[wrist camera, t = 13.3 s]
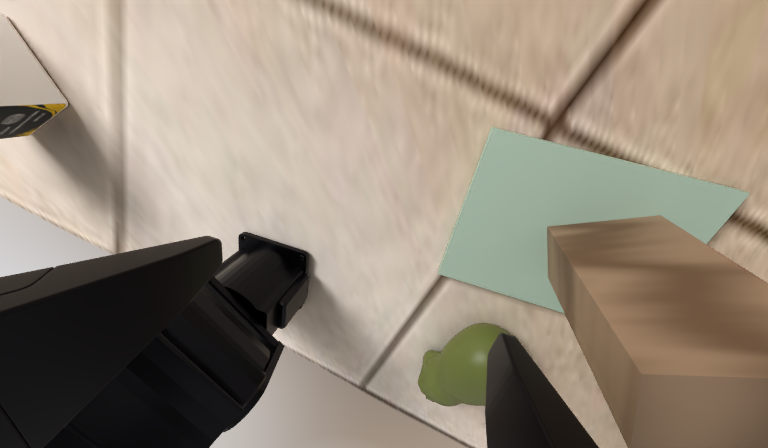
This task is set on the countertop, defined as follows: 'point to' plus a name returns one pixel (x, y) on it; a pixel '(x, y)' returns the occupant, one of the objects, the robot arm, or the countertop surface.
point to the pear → (459, 367)
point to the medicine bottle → (24, 87)
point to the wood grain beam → (666, 331)
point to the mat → (562, 209)
